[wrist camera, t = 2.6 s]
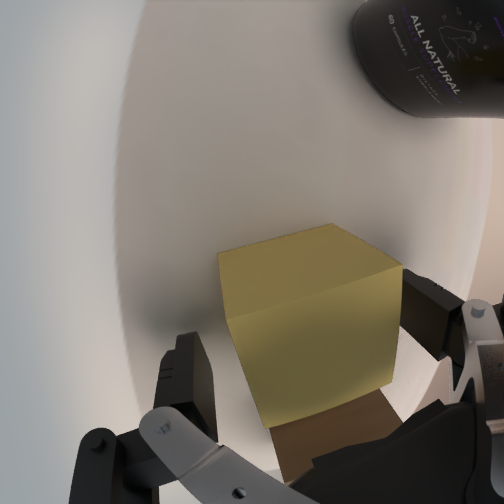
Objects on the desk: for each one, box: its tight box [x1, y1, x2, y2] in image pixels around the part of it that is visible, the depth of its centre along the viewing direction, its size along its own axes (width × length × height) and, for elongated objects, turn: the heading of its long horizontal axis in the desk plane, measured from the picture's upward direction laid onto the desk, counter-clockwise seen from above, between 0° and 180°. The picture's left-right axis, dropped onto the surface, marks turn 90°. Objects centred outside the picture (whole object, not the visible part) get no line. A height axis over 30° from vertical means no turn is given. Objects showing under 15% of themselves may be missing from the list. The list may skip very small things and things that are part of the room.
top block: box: [217, 224, 403, 429], centre depth 10 cm, size 5×5×5 cm
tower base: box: [269, 388, 403, 486], centre depth 13 cm, size 6×6×6 cm
